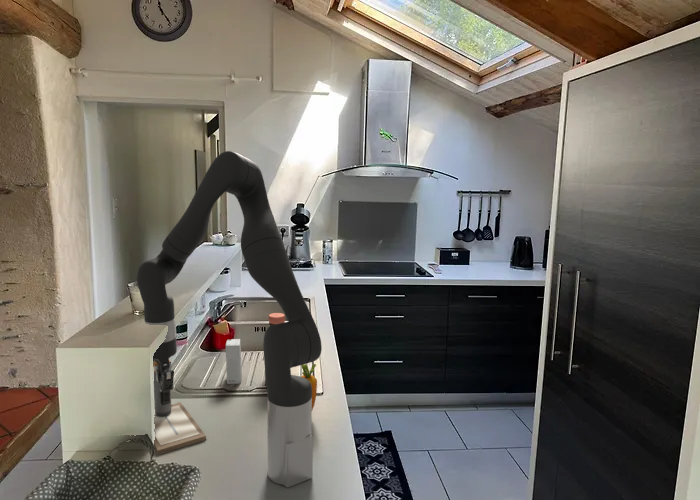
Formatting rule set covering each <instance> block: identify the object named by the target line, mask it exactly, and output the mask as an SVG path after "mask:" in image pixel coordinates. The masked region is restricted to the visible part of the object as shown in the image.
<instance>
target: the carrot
mask: <svg viewBox="0 0 700 500" xmlns="http://www.w3.org/2000/svg"><path fill="white" fill-rule="evenodd" d="M300 366H301V369H302V372H301V374H302V375H301V376H300V377H303V378H305V379H307V380H308V381H309V382H310V383H311V385H312V411H313V409H314V407H315V403H316V399H317V393H318V390H317V389H318V380H317V378H316V376H314V375H313V374H312V373H314V372H315V368H316V367H317V364H316V363H313V364H312V366H311V368H310V370H309V367H308V365H307V364H303V365H300Z"/></svg>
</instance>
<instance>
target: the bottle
mask: <svg viewBox="0 0 700 500" xmlns="http://www.w3.org/2000/svg"><path fill="white" fill-rule="evenodd" d="M284 322H286V315H285V313H282V312H272V313H270V314H268V324H269V326H271V325H275V324H279V323H284Z"/></svg>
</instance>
